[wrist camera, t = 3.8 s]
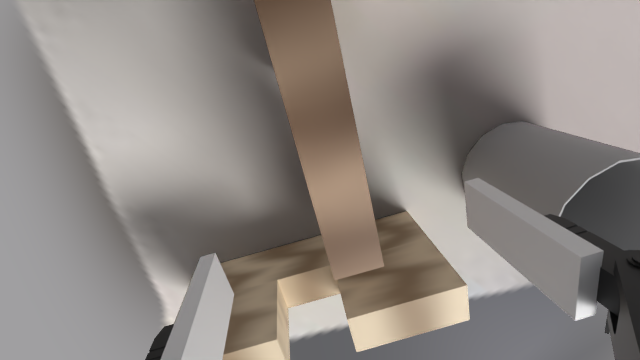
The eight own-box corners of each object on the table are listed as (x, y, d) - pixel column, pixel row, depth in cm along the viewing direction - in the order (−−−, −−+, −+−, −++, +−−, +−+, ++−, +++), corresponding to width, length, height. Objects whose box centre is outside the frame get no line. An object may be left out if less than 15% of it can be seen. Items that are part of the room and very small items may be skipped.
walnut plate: (349, 195, 27) (384, 266, 18) (315, 204, 27) (334, 280, 18) (293, -46, 20) (304, -130, 11) (248, -35, 20) (222, -109, 11)
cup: (479, 223, 30) (567, 298, 21) (448, 156, 27) (534, 208, 18) (559, 177, 29) (688, 234, 20) (536, 102, 26) (675, 128, 17)
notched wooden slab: (207, 294, 29) (174, 404, 20) (194, 270, 28) (154, 374, 19) (410, 237, 30) (469, 319, 21) (406, 211, 29) (467, 285, 19)
